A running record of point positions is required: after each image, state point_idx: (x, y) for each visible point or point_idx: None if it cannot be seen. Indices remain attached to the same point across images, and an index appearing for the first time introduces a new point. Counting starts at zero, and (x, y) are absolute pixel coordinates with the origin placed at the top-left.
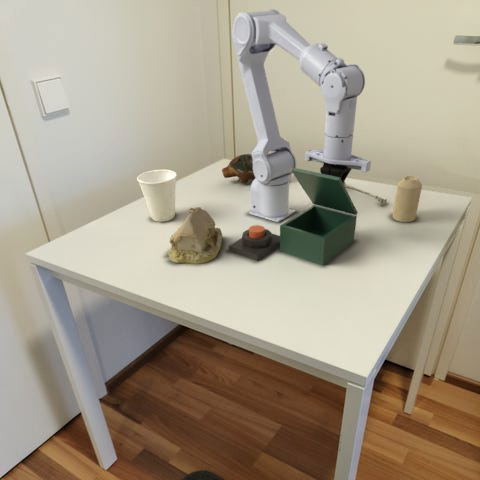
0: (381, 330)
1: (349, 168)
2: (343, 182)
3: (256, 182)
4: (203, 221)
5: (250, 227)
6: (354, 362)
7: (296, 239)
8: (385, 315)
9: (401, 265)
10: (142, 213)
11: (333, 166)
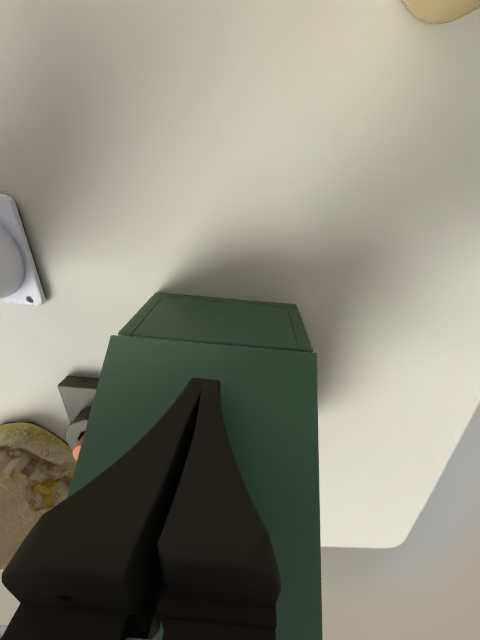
0: (411, 506)
1: (275, 606)
2: (229, 444)
3: None
4: (6, 526)
5: (75, 458)
6: (386, 543)
7: None
8: (414, 486)
9: (440, 360)
10: None
11: (137, 633)
